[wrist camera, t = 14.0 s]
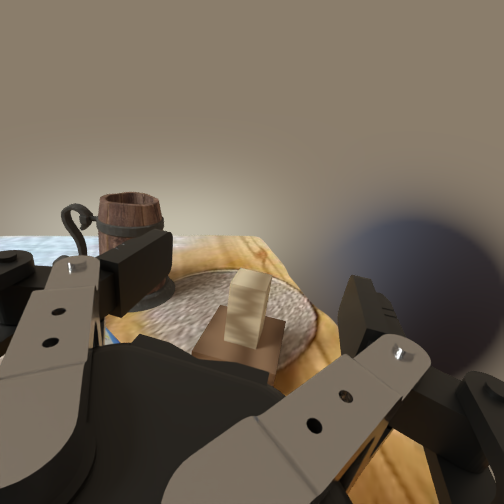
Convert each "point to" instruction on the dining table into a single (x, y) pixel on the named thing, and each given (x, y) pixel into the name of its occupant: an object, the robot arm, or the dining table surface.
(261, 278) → the maple block
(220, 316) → the walnut block
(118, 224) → the tankard
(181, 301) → the dining table surface
